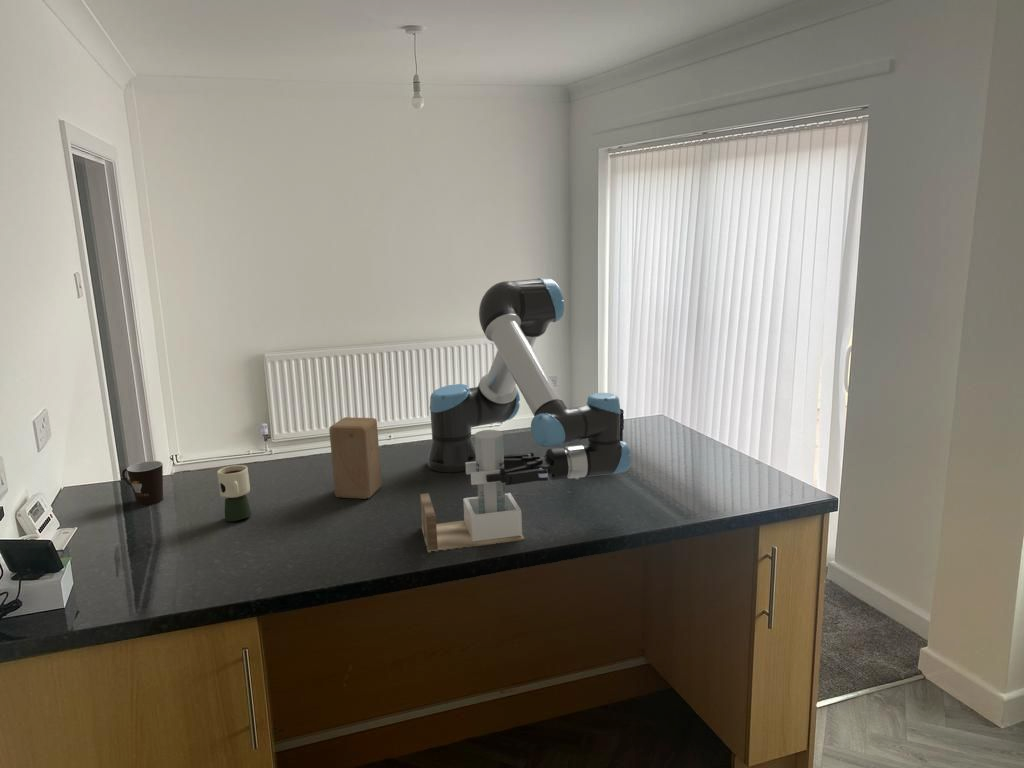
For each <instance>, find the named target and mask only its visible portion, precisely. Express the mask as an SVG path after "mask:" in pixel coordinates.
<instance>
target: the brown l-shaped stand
mask: <svg viewBox="0 0 1024 768" xmlns="http://www.w3.org/2000/svg"><path fill="white" fill-rule="evenodd" d="M419 497H420V512H421V514H420V515H421V526H420V527H421V530H422V534H423V539H424V543H425V546H427V547H426V550H427V553H432V552H431V551H435V552H439V551H438V550H443V551H448V550H447V549H450V550H456V549H455V548H458V549H463V547H466V548H472V546H473V547H479V546H488V545H495V544H496V543H497V544H503V543H510V542H519V541H524V540H525V537H524V535H523V534H522V535H521V536H513V537H505V538H497V539H490V540H482V541H474V542H473V541H472V539H471V537H470V534H469V532H468V529H467V527H466V524H465V522H464V520H456V521H449V522H441V523H437V515H436V511H435V509H434V505H433V502H432V500H431V496H430V493H429V492H426V493H420V494H419Z"/></svg>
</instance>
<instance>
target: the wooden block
mask: <svg viewBox="0 0 1024 768" xmlns="http://www.w3.org/2000/svg"><path fill="white" fill-rule="evenodd" d="M378 431H379V430H378V422H377V418H374V417H350V416H349V417H348V416H347V417H346V416H345V417H344V418H342V419H341V418H340V420H338V421H336V422H335V423H333V424H332V425H330V426H329V439H330V440H329V442H330V450H331V451H330V452H331V462H332V463H331V465H332V473H333V483H334V484H333V485H334V495H335V497H336V498H340V497H341V498H344V499H365V500H367V498H368V499H370V498H371V497H372V496H373V495H375V493H377V492H378V490H379V489H380V488H381V487H382V484H383V483H382V473H381V459H380V458H381V457H380V445H379V433H378Z"/></svg>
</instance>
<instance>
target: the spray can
mask: <svg viewBox="0 0 1024 768" xmlns="http://www.w3.org/2000/svg"><path fill="white" fill-rule="evenodd" d="M474 446H475V454H476V472H480V471H489V470H500V468H503V469H504V455H505V454H504V434H503V432H502V431H501V430H496V429H483V430H479V431H477V432H475V433H474ZM500 473H501V472H500ZM505 486H506V485H505V483H502V482H501V481H500V482H494V483H485V484H477V485H476V488H477V497H478V508H479V514H484V513H493V512H501V511H505V493H506V491H505V489H506V487H505Z"/></svg>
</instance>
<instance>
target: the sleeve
mask: <svg viewBox="0 0 1024 768" xmlns="http://www.w3.org/2000/svg"><path fill="white" fill-rule="evenodd" d="M462 500H463V519H464V520H463V521H464V522H465V524H466V527H467V529H468V532H469V534H470V537H471V539H472V541H473V542H474V541H482V540H490V539H497V538H505V537H513V536H521V535H523V524H522V523H523V520H522V518H523V517H522V516H523V515H522V510H521V508H520V506H519V504H518V503H517V502H516V500H515V497H514V496H513V495H512V493H511V492H507V493H506V492H505V511H501V512H493V513H484V514H479V508H478V496H472V497H471V496H470V497H465V498H463V499H462Z"/></svg>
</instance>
